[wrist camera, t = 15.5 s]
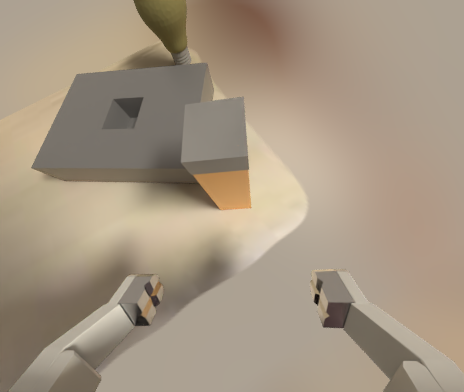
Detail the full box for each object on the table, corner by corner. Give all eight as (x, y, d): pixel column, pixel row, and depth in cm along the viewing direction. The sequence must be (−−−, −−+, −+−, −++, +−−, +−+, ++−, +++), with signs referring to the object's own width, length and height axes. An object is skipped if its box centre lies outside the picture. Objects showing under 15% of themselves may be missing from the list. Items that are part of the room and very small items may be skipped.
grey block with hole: (65, 180, 22) (31, 168, 18) (99, 96, 26) (76, 74, 23) (200, 183, 19) (189, 168, 16) (213, 89, 23) (207, 62, 20)
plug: (220, 210, 18) (180, 162, 8) (219, 178, 19) (185, 104, 10) (251, 208, 17) (247, 156, 8) (249, 175, 19) (243, 96, 9)
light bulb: (173, 85, 25) (123, -18, 15) (163, 63, 26) (113, -41, 17) (208, 70, 25) (179, -42, 15) (195, 49, 27) (163, -63, 17)
